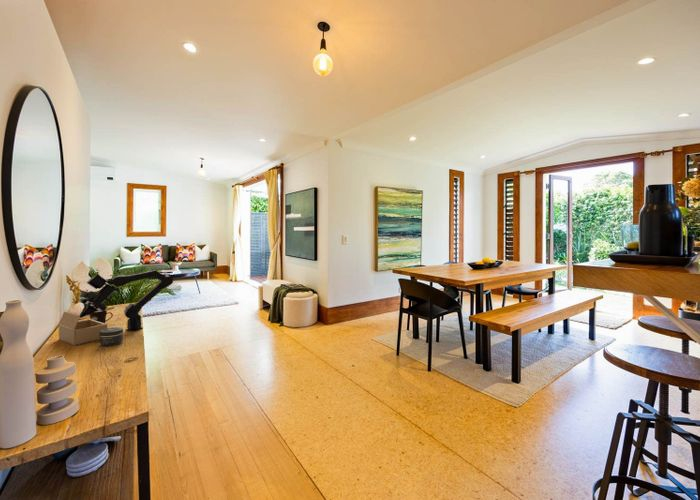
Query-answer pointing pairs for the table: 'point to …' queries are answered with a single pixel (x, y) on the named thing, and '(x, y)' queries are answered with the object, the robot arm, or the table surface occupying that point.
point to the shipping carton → (81, 332)
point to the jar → (111, 336)
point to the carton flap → (69, 320)
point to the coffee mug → (100, 315)
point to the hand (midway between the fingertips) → (79, 317)
